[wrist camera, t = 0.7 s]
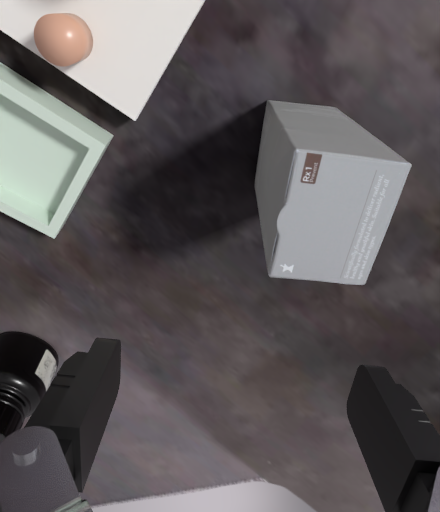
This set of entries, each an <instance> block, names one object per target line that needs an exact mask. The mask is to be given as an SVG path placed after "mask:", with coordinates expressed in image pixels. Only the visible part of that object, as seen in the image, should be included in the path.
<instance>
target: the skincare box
mask: <svg viewBox="0 0 440 512" xmlns="http://www.w3.org/2000/svg"><path fill="white" fill-rule="evenodd" d="M411 166H412V165H411V164H410V163H408V162H407V161H406V160H405V159H403V158H402V157H401V156H400V155H398V154H397V153H396V152H394V151H393V150H392V149H390V148H389V147H388V146H387V145H385V144H384V143H383V142H381V141H380V140H379V139H377V138H376V137H375V136H373V135H372V134H370V133H369V132H368V131H366V130H365V129H364V128H363V127H361V126H360V125H359V124H357V123H356V122H355V121H353V120H352V119H350V118H349V117H348V116H346V115H345V114H344V113H342V112H341V111H340V110H338V109H337V108H336V107H330V106H320V105H309V104H299V103H290V102H281V101H271V100H268V101H267V104H266V110H265V116H264V122H263V129H262V135H261V142H260V149H259V156H258V163H257V170H256V177H255V185H254V186H255V192H256V198H257V205H258V211H259V218H260V224H261V231H262V238H263V244H264V251H265V257H266V264H267V269H268V274H269V277H275V278H288V279H300V280H312V281H324V282H333V283H342V284H354V285H364V284H365V283H366V280H367V277H368V275H369V273H370V270H371V268H372V265H373V263H374V260H375V258H376V255H377V253H378V250H379V248H380V245H381V243H382V241H383V238H384V236H385V233H386V231H387V228H388V226H389V223H390V220H391V217H392V215H393V212H394V210H395V207H396V205H397V202H398V199H399V197H400V194H401V191H402V189H403V186H404V184H405V181H406V178H407V176H408V173H409V170H410V168H411Z"/></svg>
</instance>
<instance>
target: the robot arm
mask: <svg viewBox="0 0 440 512" xmlns="http://www.w3.org/2000/svg"><path fill="white" fill-rule="evenodd" d="M120 364H121V342H120V340H116V339H106V338H96V339H95V341H94V343H93V345H92V346H91V348H90V350H89V352H88V353H85V352H76V353H75V354H74V355H73V356H71V357H70V358H69V359H67V360H66V361H65V362H64V363H63V365H62V366H61V368H60V370H59V371H58V373H57V376H55V378H54V380H53V381H52V383H51V386H50V387H49V388H48V389H47V391H46V393H45V394H44V396H43V398H42V399H41V401H40V403H39V404H38V406H37V408H36V409H35V411H34V412H33V414H32V416H31V417H30V419H29V421H28V422H27V424H26V426H25V427H24V428H23V429H20V430H17V431H15V432H13V433H12V434H10V435H9V436H7V437H6V438H5V439H4V440H3V441H1V443H0V512H93V511H92V509H91V507H90V505H89V503H88V501H87V500H83V501H82V499H81V497H80V495H79V493H78V492H83V489H84V486H85V484H86V481H87V478H88V475H89V472H90V470H91V467H92V464H93V461H94V458H95V456H96V453H97V450H98V447H99V445H100V442H101V439H102V436H103V433H104V431H105V428H106V425H107V422H108V419H109V417H110V414H111V411H112V408H113V406H114V403H115V400H116V397H117V394H118V390H119V384H120ZM347 415H348V419H349V422H350V424H351V427H352V429H353V432H354V434H355V437H356V439H357V442H358V444H359V447H360V449H361V452H362V454H363V457H364V459H365V462H366V464H367V467H368V469H369V472H370V474H371V477H372V479H373V482H374V485H375V487H376V490H377V492H378V495H379V497H380V500H381V502H382V505H383V507H384V510H385V512H440V435H439V434H438V432H437V431H436V429H435V428H434V426H433V425H432V424H430V420H429V418H428V417H427V415H426V414H425V413H424V412H423V409H422V408H421V406H420V405H419V403H418V402H417V400H416V398H415V397H414V396H413V395H412V394H411V393H410V392H409V391H408V390H406V389H405V388H404V387H403V386H402V385H401V384H395V382H394V380H393V379H392V377H391V375H390V374H389V372H388V371H387V369H386V368H385V367H379V366H369V365H360V366H359V367H358V369H357V372H356V375H355V378H354V381H353V384H352V388H351V391H350V394H349V397H348V400H347Z"/></svg>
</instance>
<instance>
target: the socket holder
mask: <svg viewBox="0 0 440 512" xmlns="http://www.w3.org/2000/svg"><path fill="white" fill-rule="evenodd" d="M204 2H205V0H0V30H1V31H3V32H4V33H6V34H7V35H9V36H10V37H11V38H13V39H14V40H16V41H17V42H19V43H20V44H22V45H23V46H25V47H26V48H28V49H29V50H31V51H32V52H34V53H35V54H37V55H38V56H40V57H41V58H43V59H44V60H45V61H47V62H48V63H50V64H51V65H53V66H54V67H56V68H57V69H59V70H60V71H62V72H63V73H65V74H66V75H68V76H69V77H71V78H72V79H74V80H75V81H77V82H78V83H79V84H81V85H82V86H84V87H85V88H87V89H88V90H90V91H91V92H93V93H94V94H96V95H97V96H99V97H100V98H102V99H103V100H105V101H106V102H108V103H109V104H111V105H112V106H114V107H115V108H116V109H118V110H119V111H121V112H122V113H124V114H125V115H127V116H128V117H130V118H131V119H133V120H134V121H136V119H137V118H138V116H139V115H140V113H141V111H142V110H143V108H144V106H145V104H146V103H147V101H148V99H149V97H150V96H151V94H152V92H153V90H154V89H155V87H156V85H157V83H158V82H159V80H160V78H161V77H162V75H163V73H164V71H165V70H166V68H167V66H168V64H169V63H170V61H171V59H172V57H173V56H174V54H175V52H176V51H177V49H178V47H179V45H180V44H181V42H182V40H183V38H184V37H185V35H186V33H187V31H188V30H189V28H190V26H191V24H192V23H193V21H194V19H195V18H196V16H197V14H198V12H199V11H200V9H201V7H202V5H203V4H204Z"/></svg>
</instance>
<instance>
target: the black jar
mask: <svg viewBox="0 0 440 512" xmlns="http://www.w3.org/2000/svg"><path fill="white" fill-rule="evenodd" d="M57 366H58V355H57V353H56V351H55V350H54V349H53V348H52V347H51V346H50V345H49V344H48V343H46V342H45V341H43V340H41V339H39V338H37V337H35V336H32V335H29V334H25V333H19V332H9V333H4V334H1V335H0V443H1V441H3V440H4V439H5V438H6V437H7V436H9V435H10V434H12V433H13V432H15V431H17V430H20V429H21V427H22V425H23V422H24V419H25V418H26V417H28V416H30V415H32V414H33V412H34V411H35V409H36V408H37V406H38V404H39V403H40V401H41V399H42V398H43V396H44V394H45V393H46V391H47V389H48V388H49V386H50V383H51V381H52V378H53V376H54V374H55V371H56V369H57Z"/></svg>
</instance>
